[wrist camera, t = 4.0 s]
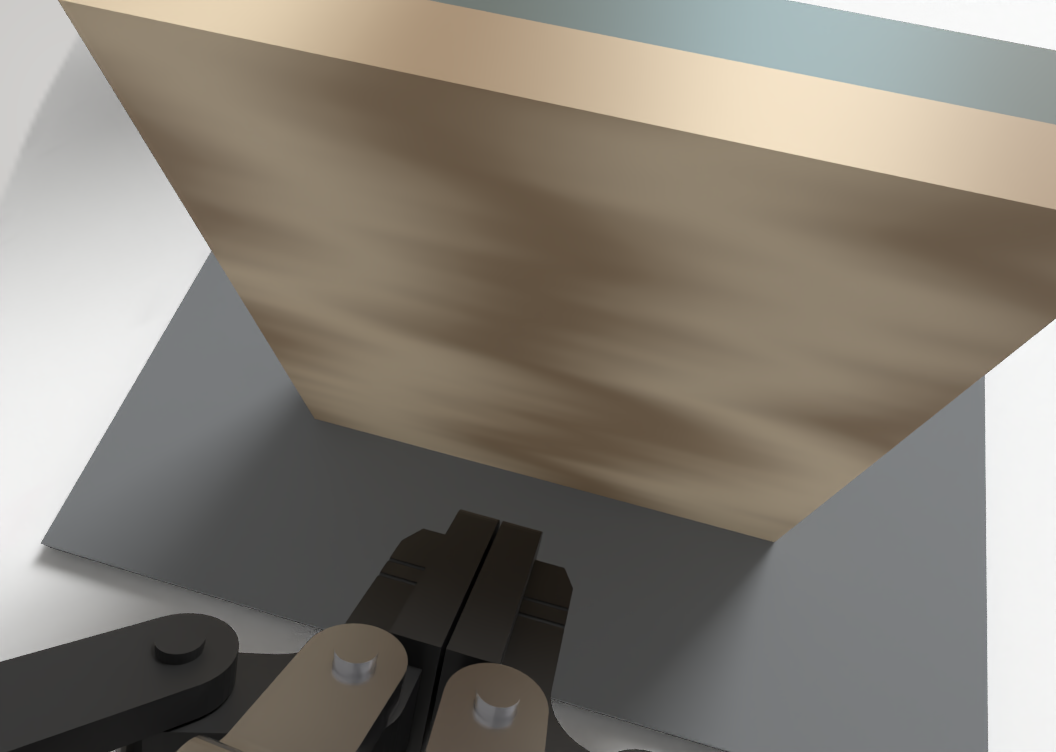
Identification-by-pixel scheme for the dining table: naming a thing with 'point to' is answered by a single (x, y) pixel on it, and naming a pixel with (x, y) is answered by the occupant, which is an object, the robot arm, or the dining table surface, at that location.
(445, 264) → the board
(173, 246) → the dining table surface
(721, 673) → the mat
